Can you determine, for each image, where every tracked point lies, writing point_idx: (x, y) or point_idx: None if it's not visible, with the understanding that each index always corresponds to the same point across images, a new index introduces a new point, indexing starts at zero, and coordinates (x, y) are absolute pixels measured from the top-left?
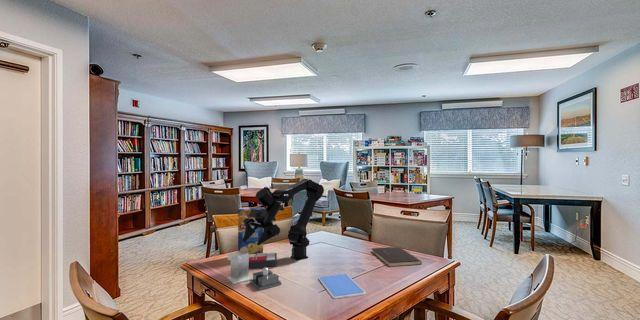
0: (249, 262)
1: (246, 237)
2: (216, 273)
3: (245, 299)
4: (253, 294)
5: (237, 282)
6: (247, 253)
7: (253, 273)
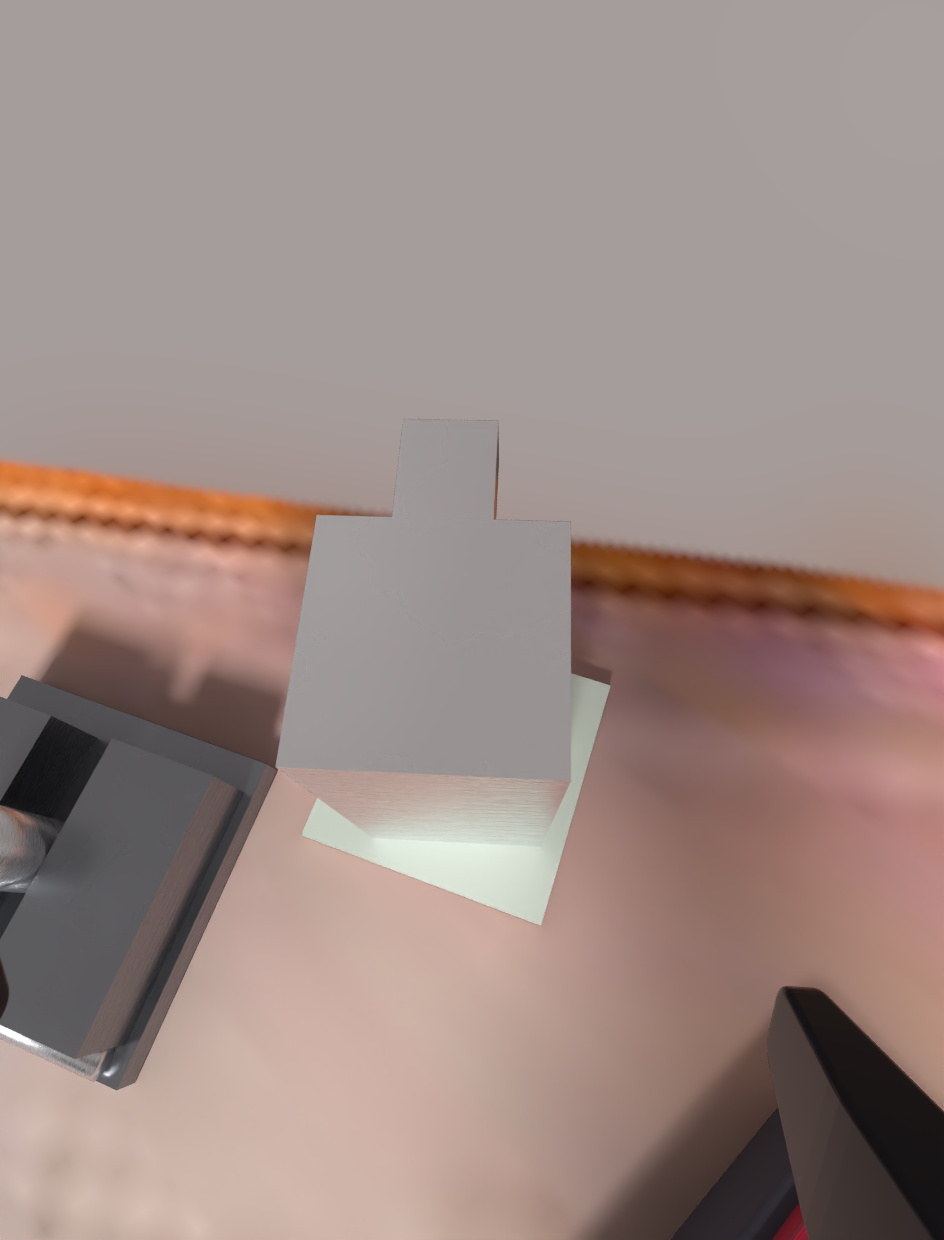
0: (747, 1229)
1: (849, 1222)
2: (882, 720)
3: (53, 489)
4: (45, 589)
5: None
6: (284, 741)
7: (199, 776)
